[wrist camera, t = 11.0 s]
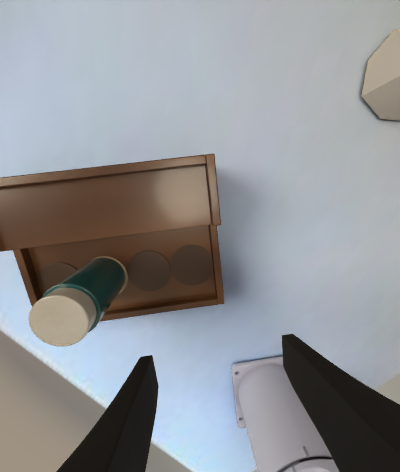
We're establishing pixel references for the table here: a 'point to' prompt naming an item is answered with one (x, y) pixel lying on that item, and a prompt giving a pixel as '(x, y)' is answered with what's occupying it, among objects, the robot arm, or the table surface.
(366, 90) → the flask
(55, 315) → the cylinder
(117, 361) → the table surface
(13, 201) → the spice shelf
